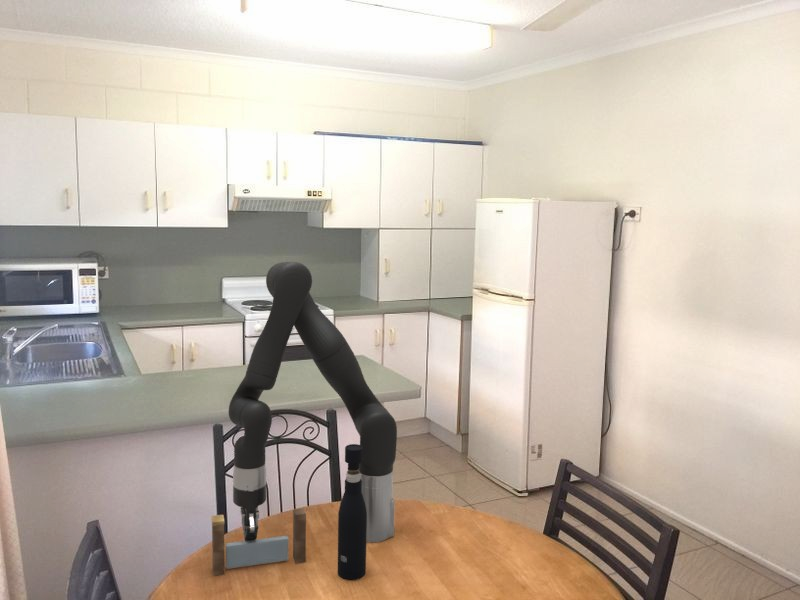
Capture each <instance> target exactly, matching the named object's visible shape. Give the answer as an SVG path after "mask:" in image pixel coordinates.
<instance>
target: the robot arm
mask: <svg viewBox="0 0 800 600" xmlns="http://www.w3.org/2000/svg"><path fill="white" fill-rule="evenodd" d="M312 277H313V276H312V274H311V271H310V269H309V268H308V267H307V266H306V265H305V264H303V263H301V262H297V261H282V262H277V263H275V264H274V265H272V266H271V267H270V268H269V270H267V274H266V278H265V279H266V280H265V284H266V289H267V291H268V293H269V294H270V295H271V296H272V305H271V307H270V308H271V309H270V311H269V315H268V317H267V320H266V323H265V325H264V327H263V329H262V331H261V333H260V335H258V338H257V341H256V342H255V345H254V347H253V350H252V352H251V355H250V357H249V358H250V359H249V360H248V361H249V362H248V366H247V368H246V371H245V375H244V376H243V379H242V380H241V382H240V384H239V385H238V386H237V388H236V391H235V392H234V394H233V395H232V397H231V399H230V402H229V405H228V417H229V420H230V422H232V424H234V425H236V426H238V427H241V428H242V429H244V431H243V432H244V434H243V436H241V437H239V438H238V439H236V440H235V443H234V447H233V448H234V449H233V454H234V455H233V456H234V458H233V461H234V462H233V463H234V464H233V473H232V501H233V503H234V505H236V506H237V507H239V508H240V511H239V512H240V517H241V525H242V526H241V528H242V531H243V538H244V541H250V540H257V537H258V531H259V519H260V511H259V506H261V505H264V503H266V501H267V468H266V467H267V466H266V445H267V442H268V439H269V435H270V432H271V427H272V423H273V416H272V415H273V414H272V411H271V408H270V406H269V405H268V404H267V403H266V402H264V401H261V400H259V399H260V397H261V395H262V393H263V392H264V391H270V390H273V388H274V387H275V385H276V382H277V378H278V375H279V373H280V368H281V366H282V365H281V364H282V361H283V357H284V355H285V352H286V348H287V344H288V342H289V340H290V336H291V333H292V332H293V328H295V330H296V332H297V334H298V336H299V338H300V340H301V342H302V343H303V346H305V348H306V351H307V352H308V353H309V355H310V357H311V359H312V361H313V362H314V364H315V366H316V367H317V369H318V371H319V372H320V373H321V375H322V376H323V379H325V380H326V382H327V383H328V385H330V386H331V388H332V389H333V390H334V391H335V393H337V394H338V396H339V397H340V398H341V401H342V402H343V403H344V405H345V408H346V410H347V411H348V413H349V416H350V418H351V420H352V422H353V425H354V427H355V429H356V432H357V433H358V435H359V445H361V446H362V447H363V454H362V462H361V463H359V471H360V473H361V478H360V479H361V480H362V495H363V498H364V501H365V505H366V511H367V536H366V543H369V542H370V543H378V542H383V541H387V540H388V539H389V538H391V537H394V536H395V512H396V509H395V507H396V506H395V505H396V501H395V499H394V498H393V487H394V486H393V483H394V481H393V480H394V464H395V461H396V457H397V456H396V455H397V443H398V442H397V441H398V429H397V428H398V426H397V421H396V420H395V418H394V417H393V416H392V414H391V413H390V412H389V410H388V409H387V408H386V407H385V406H384V405H383V404H382V403H381V402H380V401H379V399H378V398H377V396H376V395H375V393H373V391H372V390H371V388H370V386H369V385H368V384H367V381H366V379H365V376H364V375H363V371H362V368H361V366H360V364H359V361H358V359H357V357H356V355H355V353H354V352H353V350H352V348H351V345H350V344H349V343H348V341H347V339H346V338H345V337H344V335H343V334H342V333H341V331H340V330H339V328H337V326H336V325H335V324H334V323H333V322H332V321H331V320H330V319H329V318H328V317H327V316H326V314H324V313H323V312H322V310H320V308H319V306H317V304H316V302H315V301H314V299H313V297H312V295H311V293H310V291H311V289H312V285H313V278H312Z"/></svg>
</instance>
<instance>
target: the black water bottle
mask: <svg viewBox="0 0 800 600" xmlns="http://www.w3.org/2000/svg"><path fill="white" fill-rule="evenodd" d="M362 454H363V447H362V446H361V445H360V444H358V443H353V444H352V443H350V444H347V445H346V446H345V447H344V462H345V463H346V464H347V471H346V473H345V480H344V493H343V495H342V498H341V501H340V505H339V508H338V517H337V519H338V522H337V576H338V577H339V578H341V579H342V580H345V581H357V580H360V579H362V578H363V577H365V575H366V572H367V541H366V536H367V511H366V505H365V501H364V498H363V495H362V480H361V479H360V478H361V473H360V471H359V463H361V462H362Z"/></svg>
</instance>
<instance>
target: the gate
mask: <svg viewBox="0 0 800 600" xmlns="http://www.w3.org/2000/svg"><path fill="white" fill-rule="evenodd" d="M285 561H289V537H288V535H283V536H274V537H268V538H266V537H265V538H260V539H255V540H250V541H245V540H243V541H235V542H228V543H226V542H225V570H226V569H227V570H229V569H235V568H243V567H251V566H256V565H262V564H271V563H279V562H285Z"/></svg>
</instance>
